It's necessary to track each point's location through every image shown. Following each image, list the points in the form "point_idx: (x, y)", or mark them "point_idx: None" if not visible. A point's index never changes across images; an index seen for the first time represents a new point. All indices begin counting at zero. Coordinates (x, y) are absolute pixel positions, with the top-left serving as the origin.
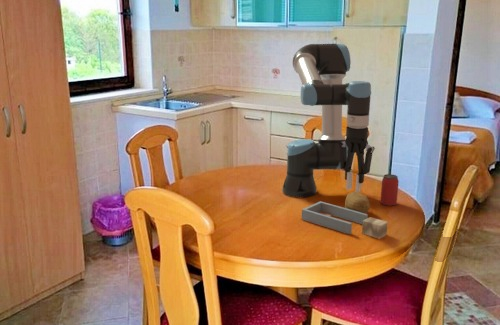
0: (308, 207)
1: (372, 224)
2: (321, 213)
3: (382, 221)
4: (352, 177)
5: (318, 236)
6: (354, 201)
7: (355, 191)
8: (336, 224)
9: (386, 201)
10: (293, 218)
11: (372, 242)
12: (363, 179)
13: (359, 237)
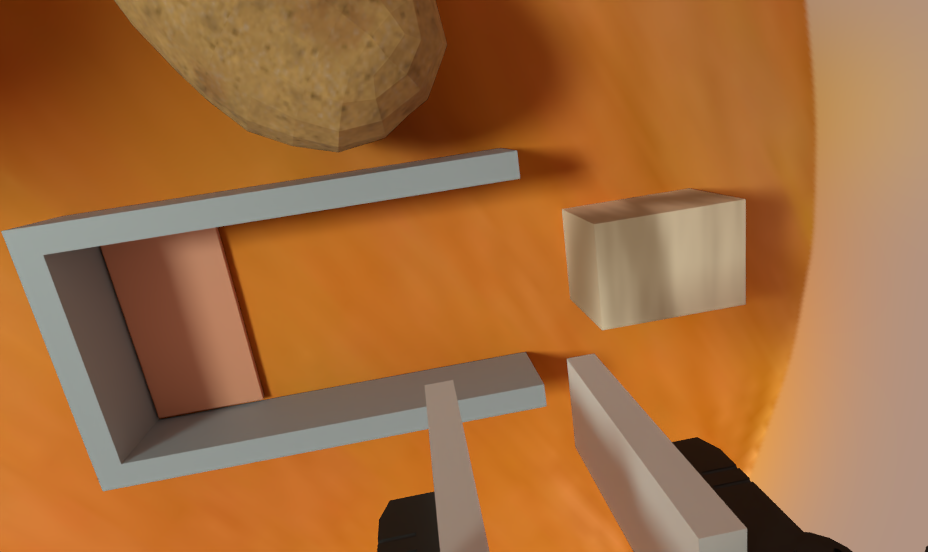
0: (91, 423)
1: (677, 314)
2: (135, 266)
3: (713, 223)
4: (472, 477)
5: None
6: (333, 122)
7: (579, 450)
8: None
9: None
10: None
11: (685, 348)
12: (743, 483)
13: None
